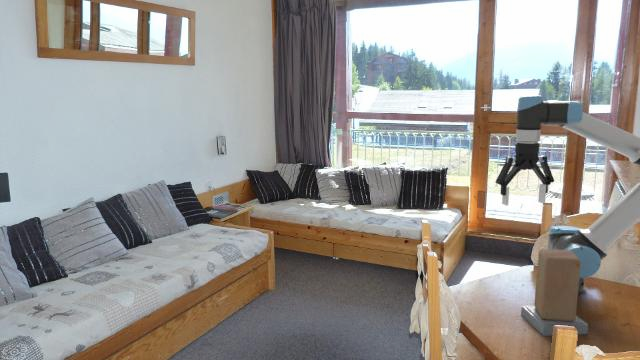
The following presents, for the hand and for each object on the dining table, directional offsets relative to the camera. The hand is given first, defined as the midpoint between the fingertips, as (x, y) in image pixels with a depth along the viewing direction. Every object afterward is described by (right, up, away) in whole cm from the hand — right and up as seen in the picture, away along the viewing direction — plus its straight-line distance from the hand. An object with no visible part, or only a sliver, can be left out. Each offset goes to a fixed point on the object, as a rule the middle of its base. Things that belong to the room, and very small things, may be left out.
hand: (523, 203), depth 169 cm
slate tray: (+4, -37, -13) cm, 40 cm away
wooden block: (+4, -34, -14) cm, 37 cm away
